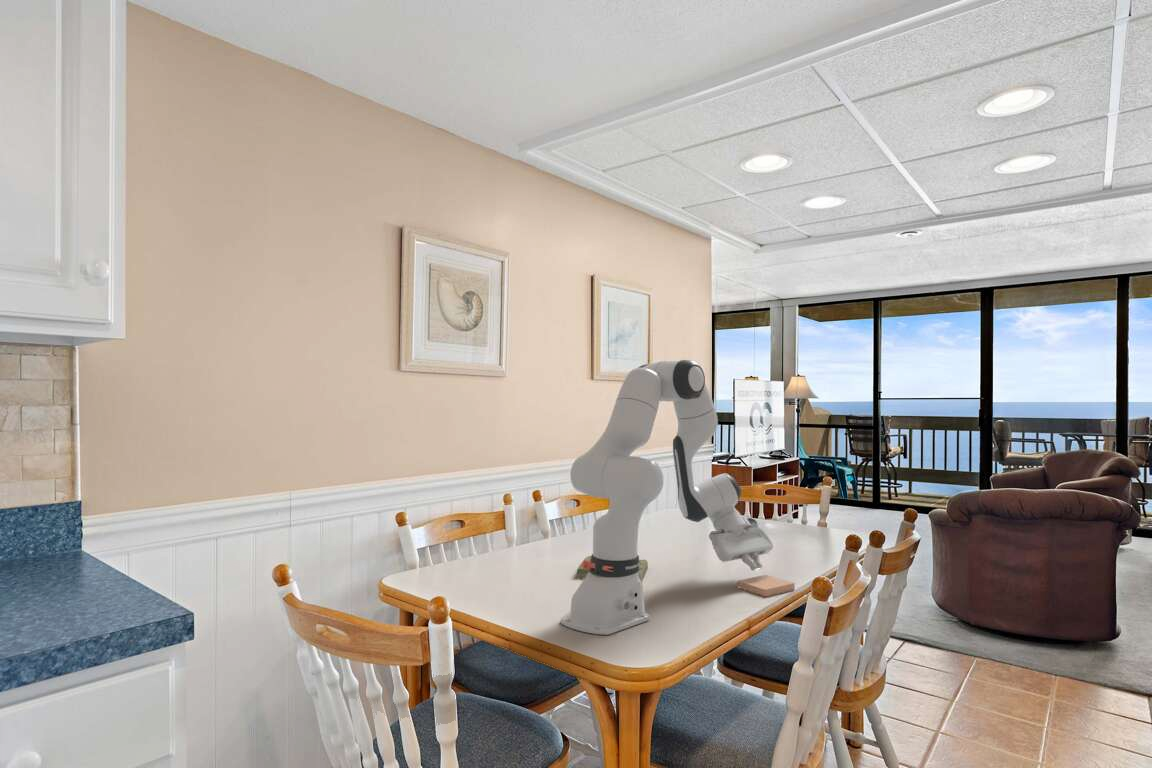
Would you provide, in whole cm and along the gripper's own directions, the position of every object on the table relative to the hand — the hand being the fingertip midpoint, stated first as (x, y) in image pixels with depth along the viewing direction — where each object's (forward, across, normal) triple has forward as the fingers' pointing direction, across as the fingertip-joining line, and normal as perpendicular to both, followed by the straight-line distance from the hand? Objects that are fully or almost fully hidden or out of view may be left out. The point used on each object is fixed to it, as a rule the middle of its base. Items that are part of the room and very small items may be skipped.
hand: (757, 568), depth 180 cm
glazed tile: (+1, 0, +4) cm, 5 cm away
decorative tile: (-19, -27, +27) cm, 43 cm away
